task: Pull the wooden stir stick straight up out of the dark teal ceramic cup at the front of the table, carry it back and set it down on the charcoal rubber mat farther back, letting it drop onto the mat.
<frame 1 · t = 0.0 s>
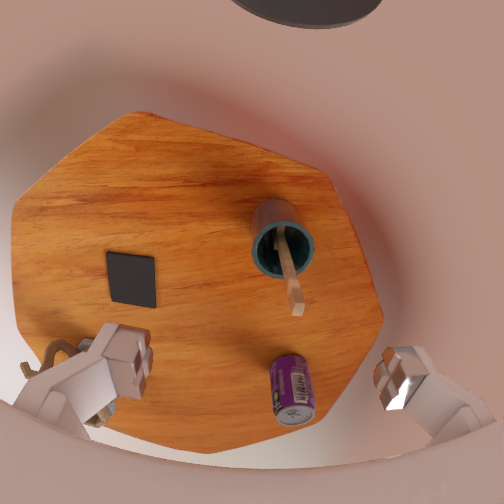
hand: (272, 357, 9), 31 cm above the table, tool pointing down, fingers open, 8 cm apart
mat: (131, 279, 43), on the table
wooden stir stick: (275, 223, 39), point 1 cm above the table, touching cup
tankard: (90, 350, 50), on the table
cup: (275, 221, 40), on the table
beverage can: (288, 364, 51), on the table
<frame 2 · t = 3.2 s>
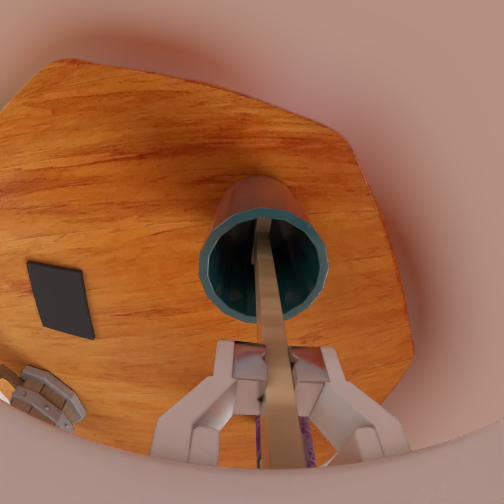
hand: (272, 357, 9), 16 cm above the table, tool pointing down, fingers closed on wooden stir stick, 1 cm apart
mat: (60, 300, 27), on the table
wooden stir stick: (258, 217, 23), point 1 cm above the table, touching cup, gripper
tankard: (36, 379, 34), on the table
cup: (258, 215, 24), on the table
beverage can: (281, 413, 35), on the table
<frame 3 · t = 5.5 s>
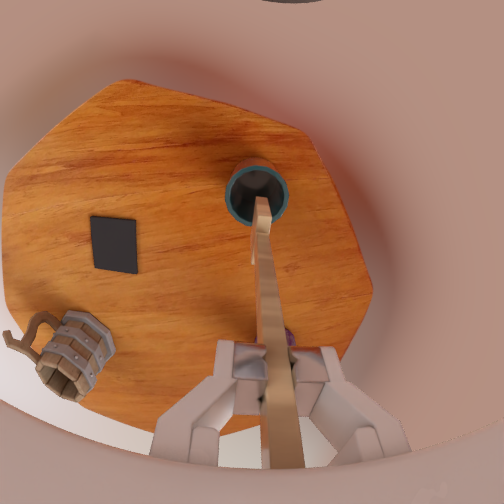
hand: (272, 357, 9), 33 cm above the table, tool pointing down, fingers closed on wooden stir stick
mat: (114, 244, 43), on the table
wooden stir stick: (258, 217, 23), point 17 cm above the table, touching gripper
tankard: (74, 323, 50), on the table
cup: (255, 180, 39), on the table
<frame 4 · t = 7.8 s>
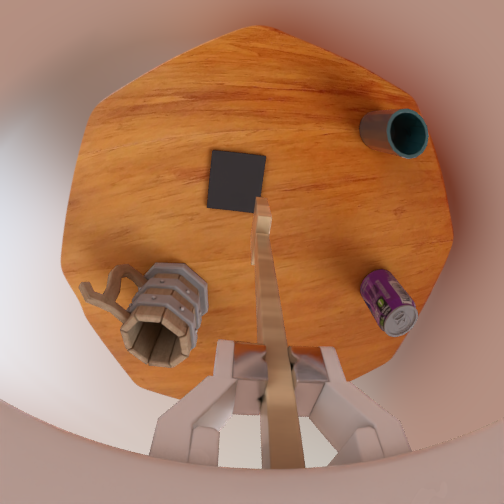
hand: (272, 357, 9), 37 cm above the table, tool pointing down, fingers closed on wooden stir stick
mat: (235, 181, 43), on the table
wooden stir stick: (258, 217, 23), point 22 cm above the table, touching gripper
tankard: (159, 280, 51), on the table
cup: (377, 130, 40), on the table
beverage can: (375, 283, 51), on the table
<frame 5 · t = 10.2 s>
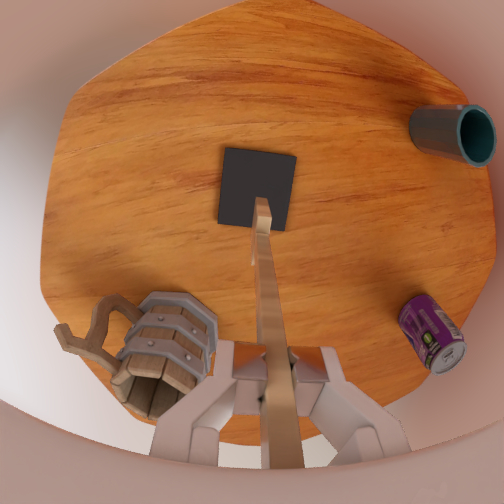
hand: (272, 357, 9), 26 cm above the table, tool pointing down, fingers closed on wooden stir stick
mat: (255, 189, 33), on the table
wooden stir stick: (258, 217, 23), point 11 cm above the table, touching gripper
tankard: (157, 311, 40), on the table
cup: (428, 129, 30), on the table
beverage can: (414, 310, 41), on the table
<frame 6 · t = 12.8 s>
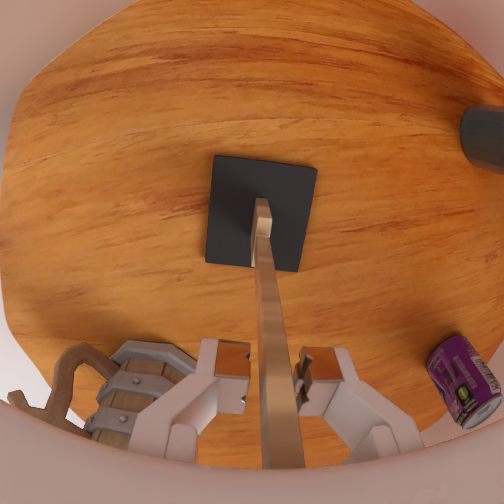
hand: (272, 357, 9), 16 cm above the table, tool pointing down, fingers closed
mat: (258, 215, 24), on the table
wooden stir stick: (258, 218, 23), point 1 cm above the table, touching mat
tankard: (136, 360, 31), on the table
cup: (481, 136, 20), on the table
beverage can: (444, 351, 31), on the table
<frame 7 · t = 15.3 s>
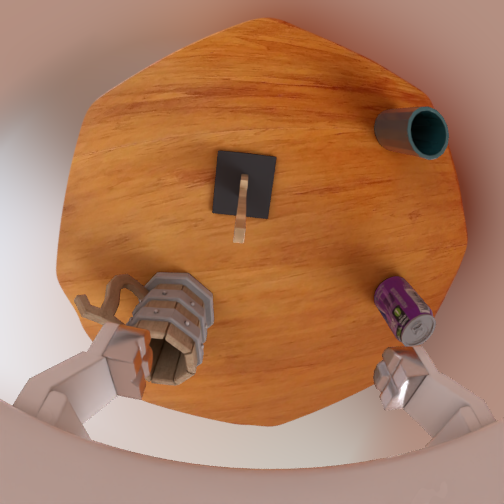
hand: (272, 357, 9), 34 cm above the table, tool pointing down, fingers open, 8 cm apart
mat: (243, 184, 40), on the table
wooden stir stick: (243, 186, 40), point 1 cm above the table, touching mat
tankard: (160, 290, 47), on the table
cup: (393, 130, 37), on the table
beverage can: (389, 291, 48), on the table
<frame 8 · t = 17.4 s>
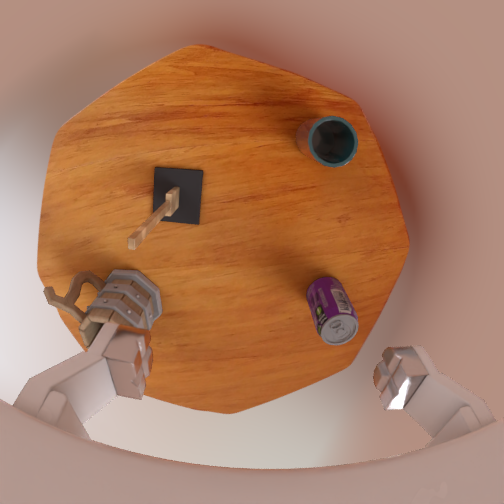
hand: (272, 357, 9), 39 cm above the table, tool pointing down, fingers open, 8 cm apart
mat: (177, 195, 46), on the table
wooden stir stick: (176, 196, 46), point 1 cm above the table, touching mat
tankard: (118, 284, 53), on the table
cup: (316, 138, 42), on the table
beverage can: (323, 290, 54), on the table
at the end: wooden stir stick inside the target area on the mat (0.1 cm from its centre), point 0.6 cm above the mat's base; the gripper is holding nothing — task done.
